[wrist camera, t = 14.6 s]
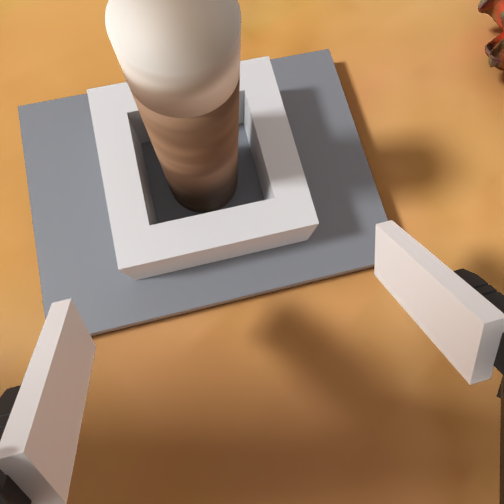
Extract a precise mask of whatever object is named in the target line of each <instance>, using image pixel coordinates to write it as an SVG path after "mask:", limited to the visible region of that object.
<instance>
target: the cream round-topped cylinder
mask: <svg viewBox="0 0 504 504" xmlns="http://www.w3.org/2000/svg"><path fill="white" fill-rule="evenodd" d="M105 24H106V30H107V33H108V36H109V39H110V41H111V44H112V46H113V49H114V51H115V54H116V56H117V58H118V61H119V63H120V66H121V68H122V71H123V73H124V76H125V78H126V81H127V83H128V86H129V88H130V90H131V93H132V95H133V98H134V100H135V103H136V105H137V108H138V110H139V113H140V115H141V118H142V120H143V123H144V125H145V127H146V130H147V132H148V135H149V137H150V140H151V142H152V145H153V147H154V150H155V152H156V155H157V157H158V160H159V162H160V164H161V167H162V169H163V172H164V174H165V177H166V179H167V182H168V184H169V187H170V189H171V192H172V194H173V196H174V197H175V199H176V200H177V201H178V203H179V204H181V205H182V206H183V207H185V208H186V209H188V210H191V211H194V212H199V213H207V212H213V211H216V210H218V209H220V208H222V207H224V206H225V205H226V204H227V203H228V202H229V201H230V200H231V199H232V198H233V196H234V194H235V192H236V188H237V179H238V135H239V91H240V47H241V11H240V6H239V3H238V1H237V0H109V1H108V4H107V7H106V12H105Z"/></svg>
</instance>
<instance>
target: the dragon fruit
mask: <svg viewBox="0 0 504 504" xmlns="http://www.w3.org/2000/svg"><path fill="white" fill-rule="evenodd" d="M478 11H479V12H481V13H487V14H489V15H490V16H491V17H492V18H493V20H494V21H495V22H496V23H497V24H498V25H499V26H500V27H501V28H502V29H503V33H502V34H500V35H498V36H497V37H496V38H495V39H493V40H492V41H491V42H489V43H488V44H487V45H486V46H485V53H486V54H487V56H488V57H489V64H490V67H493V66H496V67H499V68H502V69H503V70H504V0H481V1H480V3H479V5H478Z"/></svg>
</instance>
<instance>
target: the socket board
mask: <svg viewBox="0 0 504 504" xmlns="http://www.w3.org/2000/svg"><path fill="white" fill-rule="evenodd" d="M18 112H19V120H20V127H21V135H22V143H23V151H24V158H25V166H26V174H27V182H28V189H29V197H30V205H31V213H32V220H33V228H34V236H35V244H36V251H37V259H38V267H39V275H40V282H41V290H42V298H43V306H44V313H45V320H46V318H47V315H48V312H49V310H50V307H51V304H52V303H54V302H58V301H62V300H66V299H70V298H71V299H72V300H73V302H74V304H75V306H76V308H77V310H78V312H79V314H80V316H81V318H82V320H83V322H84V324H85V326H86V328H87V330H88V332H89V333H90V335H91V336H94V335H98V334H102V333H106V332H110V331H115V330H119V329H123V328H127V327H131V326H135V325H139V324H143V323H147V322H151V321H155V320H159V319H163V318H167V317H172V316H176V315H180V314H184V313H188V312H192V311H196V310H200V309H204V308H208V307H212V306H216V305H220V304H224V303H229V302H233V301H237V300H241V299H245V298H249V297H253V296H257V295H261V294H265V293H269V292H273V291H277V290H281V289H286V288H290V287H294V286H298V285H302V284H306V283H310V282H314V281H318V280H322V279H326V278H330V277H334V276H339V275H343V274H347V273H351V272H355V271H359V270H363V269H367V268H371V267H375V231H376V224H378V223H382V222H386V221H388V219H387V216H386V214H385V211H384V208H383V205H382V202H381V199H380V196H379V193H378V190H377V187H376V184H375V182H374V179H373V176H372V173H371V170H370V167H369V164H368V161H367V158H366V155H365V153H364V150H363V147H362V144H361V141H360V138H359V135H358V132H357V129H356V126H355V123H354V121H353V118H352V115H351V112H350V109H349V106H348V103H347V100H346V97H345V94H344V91H343V89H342V86H341V83H340V80H339V77H338V74H337V71H336V68H335V65H334V62H333V59H332V57H331V54H330V51H329V49H326V50H320V51H315V52H309V53H304V54H299V55H293V56H288V57H282V58H277V59H272V60H270V59H269V56H266V57H261V58H255V59H250V60H244V61H240V91H239V135H238V179H237V188H236V192H235V194H234V196H233V198H232V199H231V200H230V201H229V202H228V203H227V204H226V205H225V206H224V207H222V208H220V209H218V210H216V211H213V212H207V213H199V212H194V211H191V210H188V209H186V208H185V207H183V206H182V205H181V204H179V203H178V201H177V200H176V199H175V197H174V196H173V194H172V192H171V189H170V187H169V184H168V182H167V179H166V177H165V174H164V172H163V169H162V167H161V164H160V162H159V160H158V157H157V155H156V152H155V150H154V147H153V145H152V142H151V140H150V137H149V135H148V132H147V130H146V127H145V125H144V123H143V120H142V118H141V115H140V113H139V110H138V108H137V105H136V103H135V100H134V98H133V95H132V93H131V90H130V88H129V86H128V83H127V82H124V83H119V84H114V85H108V86H103V87H97V88H92V89H87V94H82V95H77V96H71V97H66V98H60V99H55V100H49V101H44V102H39V103H33V104H28V105H22V106H18Z"/></svg>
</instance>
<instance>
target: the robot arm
mask: <svg viewBox="0 0 504 504" xmlns="http://www.w3.org/2000/svg"><path fill="white" fill-rule="evenodd" d="M374 275H375V276H376V277H377V278H378V279H379V281H380V282H381V283H382V284H383V285H384V286H385V288H386V289H387V290H388V291H389V292H390V293H391V294H392V296H393V297H394V298H395V299H396V300H397V301H398V303H399V304H400V305H401V306H402V307H403V308H404V310H405V311H406V312H407V313H408V314H409V315H410V316H411V318H412V319H413V320H414V321H415V322H416V323H417V325H418V326H419V327H420V328H421V329H422V330H423V331H424V333H425V334H426V335H427V336H428V337H429V338H430V340H431V341H432V342H433V343H434V344H435V345H436V346H437V348H438V349H439V350H440V351H441V352H442V353H443V355H444V356H445V357H446V358H447V359H448V360H449V361H450V363H451V364H452V365H453V366H454V367H455V368H456V370H457V371H458V372H459V373H460V374H461V375H462V376H463V378H464V379H465V380H466V381H467V382H468V383H469V385H471V384H475V383H478V382H481V381H485V380H488V379H491V376H492V373H493V369H494V366H495V367H496V368H497V369H498V370H499V371H500V372H501V373H502V374H503V377H502V380H501V384H500V387H499V391H498V394H497V397H500V398H501V433H500V504H504V296H503V295H502V294H501V293H500V292H497V290H496V289H494V288H493V287H492V286H491V285H488V283H487V282H486V281H484V280H483V279H482V278H480V277H479V276H478V275H476V274H474V273H472V272H469V271H467V270H465V269H459V270H456V271H452V270H451V269H450V268H449V267H447V266H446V265H445V264H444V263H443V262H442V261H440V260H439V259H438V258H437V257H436V256H434V255H433V254H432V253H431V252H430V251H428V250H427V249H426V248H425V247H424V246H422V245H421V244H420V243H419V242H418V241H416V240H415V239H414V238H413V237H412V236H410V235H409V234H408V233H407V232H406V231H404V230H403V229H402V228H401V227H400V226H398V225H397V224H396V223H395V222H394V221H392V220H390V221H386V222H382V223H378V224H376V231H375V269H374ZM95 350H96V345H95V343H94V341H93V339H92V337H91V335H90V333H89V332H88V330H87V328H86V326H85V324H84V322H83V320H82V318H81V316H80V314H79V312H78V310H77V308H76V306H75V304H74V302H73V300H72V299H71V298H70V299H66V300H62V301H58V302H54V303H52V304H51V307H50V310H49V312H48V315H47V318H46V320H45V323H44V326H43V328H42V331H41V334H40V336H39V339H38V342H37V344H36V347H35V350H34V352H33V355H32V358H31V360H30V363H29V366H28V368H27V371H26V374H25V376H24V379H23V382H22V384H21V386H17V387H13V388H9V389H7V390H6V391H5V392H4V393H3V395H2V396H1V397H0V504H31V503H32V504H67V499H68V494H69V488H70V483H71V478H72V472H73V467H74V462H75V456H76V451H77V446H78V440H79V435H80V430H81V424H82V419H83V414H84V408H85V403H86V398H87V392H88V387H89V382H90V376H91V371H92V366H93V360H94V355H95Z"/></svg>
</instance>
